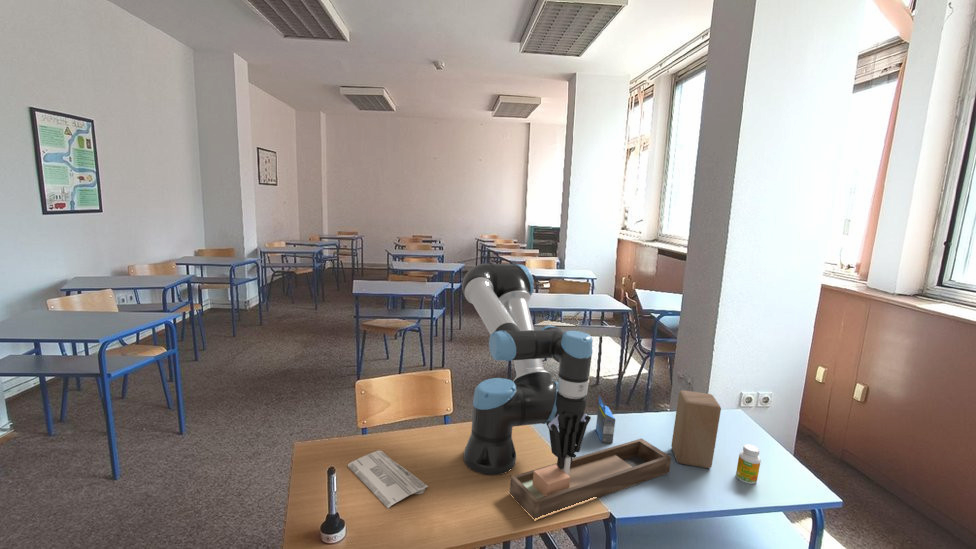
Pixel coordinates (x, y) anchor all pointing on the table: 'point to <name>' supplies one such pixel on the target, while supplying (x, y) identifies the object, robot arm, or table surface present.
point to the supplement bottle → (748, 464)
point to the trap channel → (594, 476)
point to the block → (695, 428)
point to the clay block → (550, 480)
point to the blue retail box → (605, 423)
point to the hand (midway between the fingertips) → (562, 478)
